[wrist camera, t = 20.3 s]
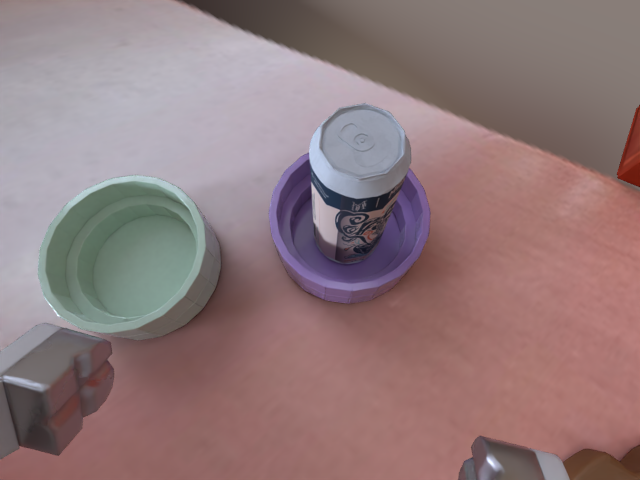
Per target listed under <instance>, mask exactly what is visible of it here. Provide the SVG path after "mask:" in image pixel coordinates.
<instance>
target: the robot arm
mask: <svg viewBox="0 0 640 480" xmlns="http://www.w3.org/2000/svg"><path fill="white" fill-rule="evenodd" d="M111 355H112V347H111V342H109V341H107V340H105V339H102V338H98V337H95V336H91V335H88V334H84V333H81V332H77V331H74V330H70V329H67V328H62V327H59V326H55V325H52V324H48V323H43V324H39V325H36V326H35V327H33V328H32V329H31V330H29V331H28V332H26V333H25V334H24V335H22V336H21V337H20V338H18V339H17V340H16V341H14V342H13V343H11V344H10V345H9V346H7V347H6V348H5V349H3V350H2V351H0V459H2V458H4V457H5V456H7V455H9V454H11V453H12V452H14V451H16V450H18V449H19V446H22V447H26V448H30V449H34V450H38V451H42V452H46V453H50V454H54V455H57V456H59V455H60V454H61V453H62V451H63V450H64V449H65V448H66V447H67V446H68V444H69V443H70V442H71V441H72V440H73V439H74V437H75V436H76V435H77V434H78V433H79V432H80V430H81V429H82V426H83V418H84V417H86V416H88V415H90V414H92V413H94V412H96V411H97V410H98V409H99V408H100V407H101V406H102V404H103V403H104V402H105V401H106V399H107V397H108V395H109V393H110V391H111V389H112V386H113V381H114V368H113V367H112V366H111V364H110V363H109V362H108V360H107V359H108V358H109V357H110V356H111ZM471 450H472V455H473V457H472V458H470V459H468V460H466V461H464V463H463V465H462V467H461V469H460V472H459V477H458V480H570V479H569V476H568V474H567V472H566V469H565V467H564V465H563V462H562V460H561V459H560V458H559V457H558V456H557V455H555V454H551V453H547V452H543V451H539V450H535V449H531V448H527V447H524V446H520V445H516V444H512V443H508V442H504V441H500V440H496V439H491V438H487V437H483V436H479V437H477V438H476V439H475V441H474V442H473V444H472V446H471Z"/></svg>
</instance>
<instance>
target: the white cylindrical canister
mask: <svg viewBox="0 0 640 480" xmlns="http://www.w3.org/2000/svg"><path fill="white" fill-rule="evenodd" d="M309 158H310V170H311V188H312V206H313V224H314V239H315V242H316V244H317V247H318V248H319V250H320V251H321V252H322V253H323V254H324V255H325V256H326V257H327V258H329V259H331V260H333V261H335V262H338V263H342V264H352V263H358V262H361V261H362V260H365V259H366V258H368V257H369V256H370V255H371V254H372V253H373V252H374V250H375V249H376V248H377V246H378V244H379V242H380V239H381V237H382V234H383V232H384V229H385V227H386V224H387V222H388V219H389V217H390V214H391V212H392V210H393V207H394V205H395V202H396V200H397V197H398V195H399V192H400V190H401V187H402V185H403V183H404V180H405V178H406V175H407V173H408V170H409V166H410V163H411V147H410V143H409V140H408V138H407V136H406V135H405V131H404V129H403V128H402V127H401V126H400V124H399V123H398V122H397V120H396V119H395V118H394V117H393V115H392V114H391V113H390V112H389V111H386V110H383V109H380V108H377V107H375V106H372V105H369V104H366V103H363V104H357V105H352V106H346V107H341V108H338V109H337V110H336V111H335V112H334V113H333V114H332V115H331V116H329V117H328V119H326V120H325V121H324V122H323V123H322V124H321V125H320V126H319V127H318V128H317V130H316V131H315V133H314V135H313V137H312V139H311V142H310V150H309Z"/></svg>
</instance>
